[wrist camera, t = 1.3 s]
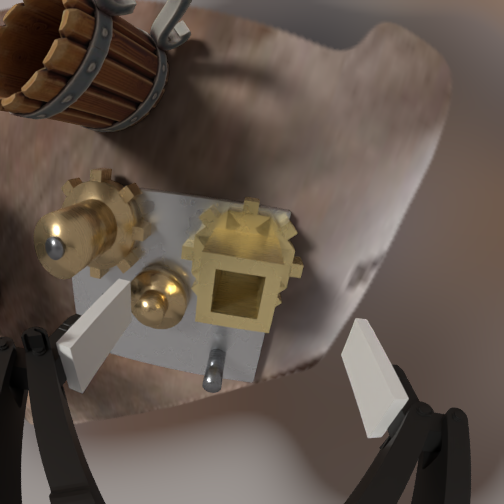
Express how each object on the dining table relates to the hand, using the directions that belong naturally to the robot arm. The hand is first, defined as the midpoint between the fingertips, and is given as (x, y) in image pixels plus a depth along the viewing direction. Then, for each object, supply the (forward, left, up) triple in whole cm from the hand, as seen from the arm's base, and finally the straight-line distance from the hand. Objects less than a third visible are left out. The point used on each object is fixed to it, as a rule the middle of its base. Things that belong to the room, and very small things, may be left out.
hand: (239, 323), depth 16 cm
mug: (-13, +17, -13) cm, 24 cm away
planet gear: (0, 0, -11) cm, 11 cm away
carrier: (-8, -5, -12) cm, 16 cm away
